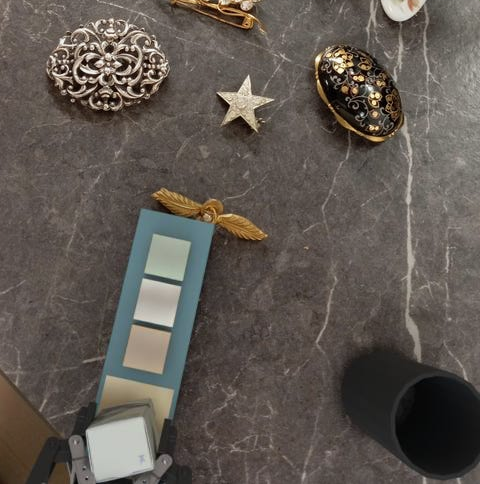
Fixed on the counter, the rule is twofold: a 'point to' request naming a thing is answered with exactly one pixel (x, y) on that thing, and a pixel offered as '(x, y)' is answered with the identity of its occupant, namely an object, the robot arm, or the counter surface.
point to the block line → (151, 328)
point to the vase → (416, 413)
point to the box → (123, 440)
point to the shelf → (186, 308)
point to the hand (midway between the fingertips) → (129, 416)
